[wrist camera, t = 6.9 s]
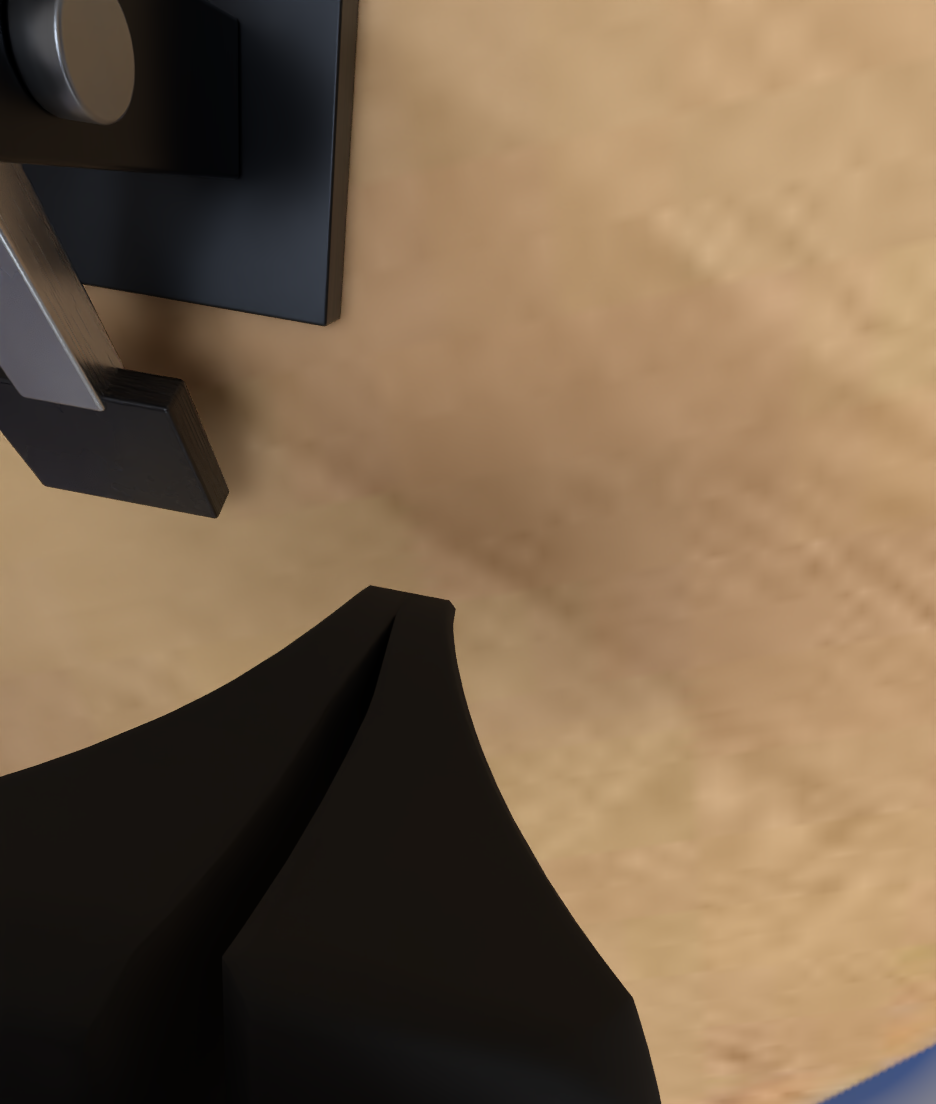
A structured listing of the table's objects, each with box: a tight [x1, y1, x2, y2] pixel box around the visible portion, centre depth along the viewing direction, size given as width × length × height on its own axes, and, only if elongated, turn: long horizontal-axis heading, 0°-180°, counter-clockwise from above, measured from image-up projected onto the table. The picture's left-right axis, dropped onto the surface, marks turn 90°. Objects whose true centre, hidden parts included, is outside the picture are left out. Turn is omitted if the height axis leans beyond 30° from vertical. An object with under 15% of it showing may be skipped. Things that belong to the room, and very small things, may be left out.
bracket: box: [0, 0, 359, 326], centre depth 10 cm, size 7×8×7 cm
